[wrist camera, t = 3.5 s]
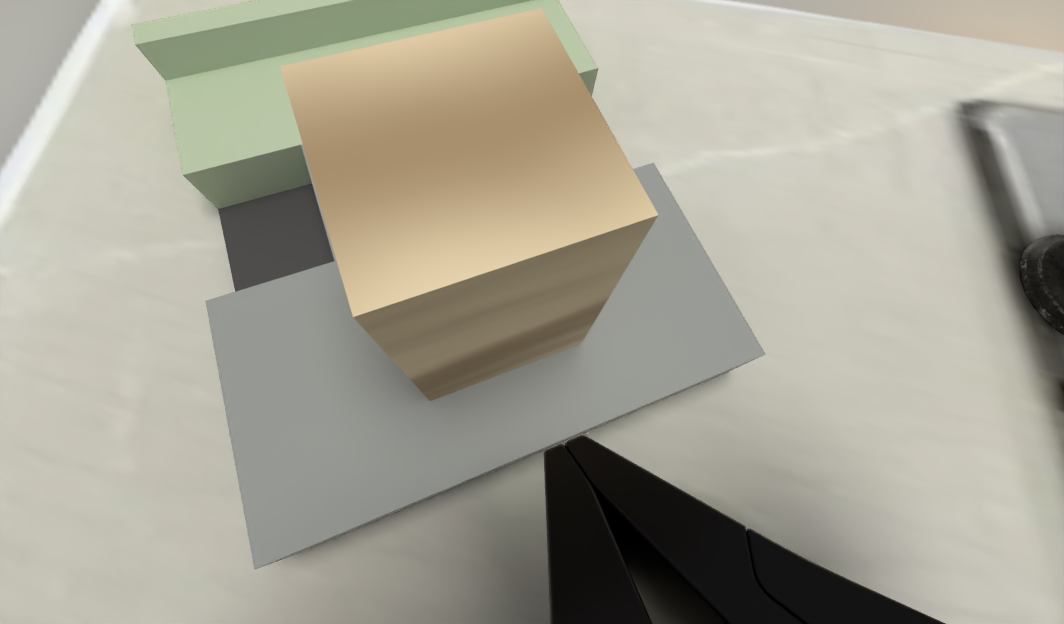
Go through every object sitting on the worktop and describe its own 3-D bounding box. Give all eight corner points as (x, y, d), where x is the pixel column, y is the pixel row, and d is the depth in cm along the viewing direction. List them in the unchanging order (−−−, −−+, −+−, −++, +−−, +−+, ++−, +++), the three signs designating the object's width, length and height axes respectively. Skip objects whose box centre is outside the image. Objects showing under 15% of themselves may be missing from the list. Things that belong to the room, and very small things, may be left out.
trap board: (728, 371, 17) (793, 341, 13) (295, 554, 14) (221, 582, 10) (541, 32, 23) (550, -58, 19) (202, 111, 20) (131, 24, 16)
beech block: (581, 343, 14) (658, 215, 7) (429, 401, 13) (352, 316, 6) (523, 216, 16) (542, 7, 9) (383, 260, 15) (280, 66, 8)
